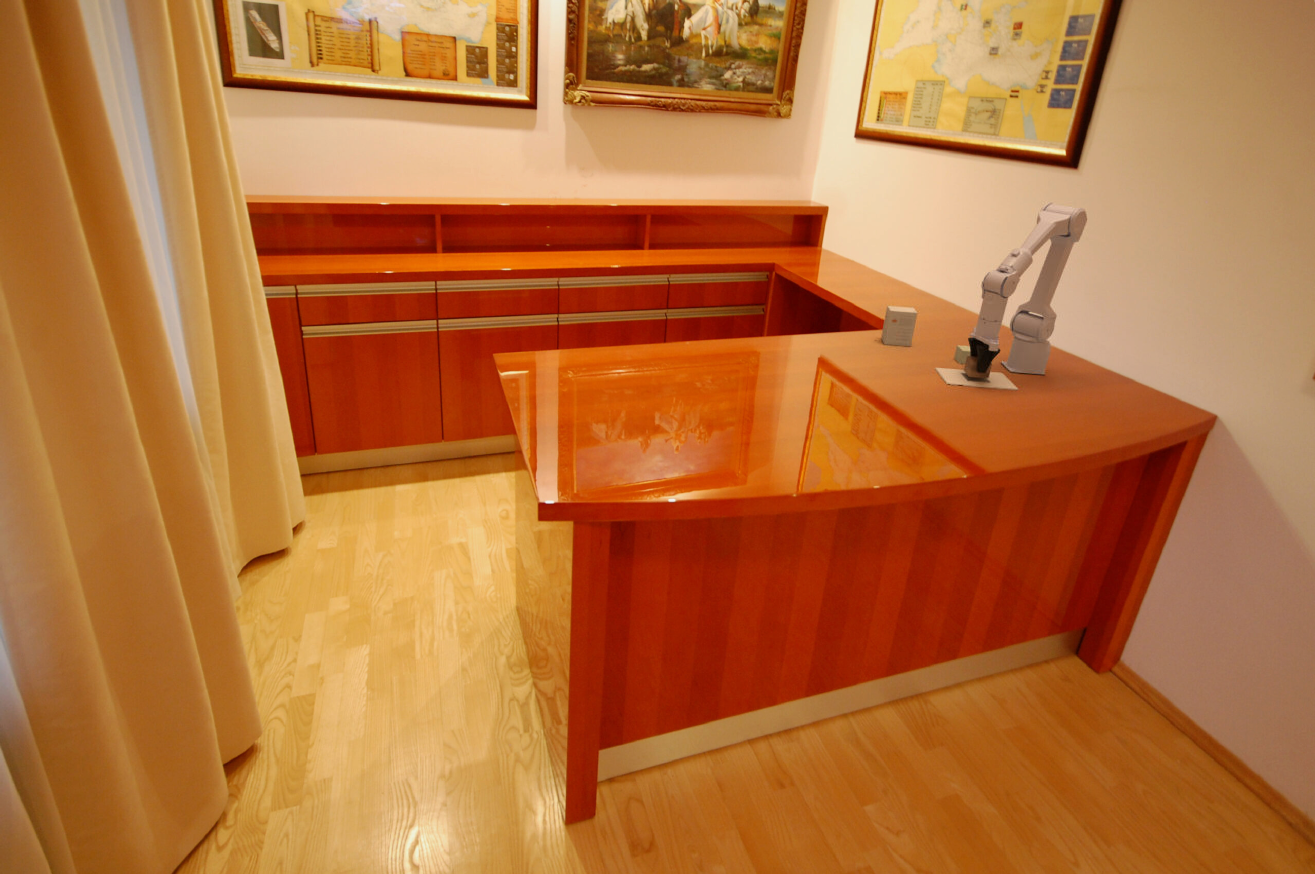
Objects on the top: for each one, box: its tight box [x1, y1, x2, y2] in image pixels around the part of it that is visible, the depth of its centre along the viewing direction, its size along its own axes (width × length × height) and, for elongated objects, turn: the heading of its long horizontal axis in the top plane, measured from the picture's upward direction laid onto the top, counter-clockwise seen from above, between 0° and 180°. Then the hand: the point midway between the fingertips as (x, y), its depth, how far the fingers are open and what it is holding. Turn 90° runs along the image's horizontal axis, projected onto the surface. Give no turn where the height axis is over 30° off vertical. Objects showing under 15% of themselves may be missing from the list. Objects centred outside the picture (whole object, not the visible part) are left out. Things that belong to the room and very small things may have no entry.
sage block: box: [953, 344, 970, 365], centre depth 211 cm, size 5×5×4 cm
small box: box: [880, 305, 918, 347], centre depth 222 cm, size 8×6×10 cm
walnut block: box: [963, 356, 993, 378], centre depth 196 cm, size 5×5×4 cm
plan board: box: [934, 367, 1019, 391], centre depth 198 cm, size 18×12×1 cm, turn 86°
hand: (977, 368), depth 197 cm, fingers closed on walnut block, 5 cm apart
